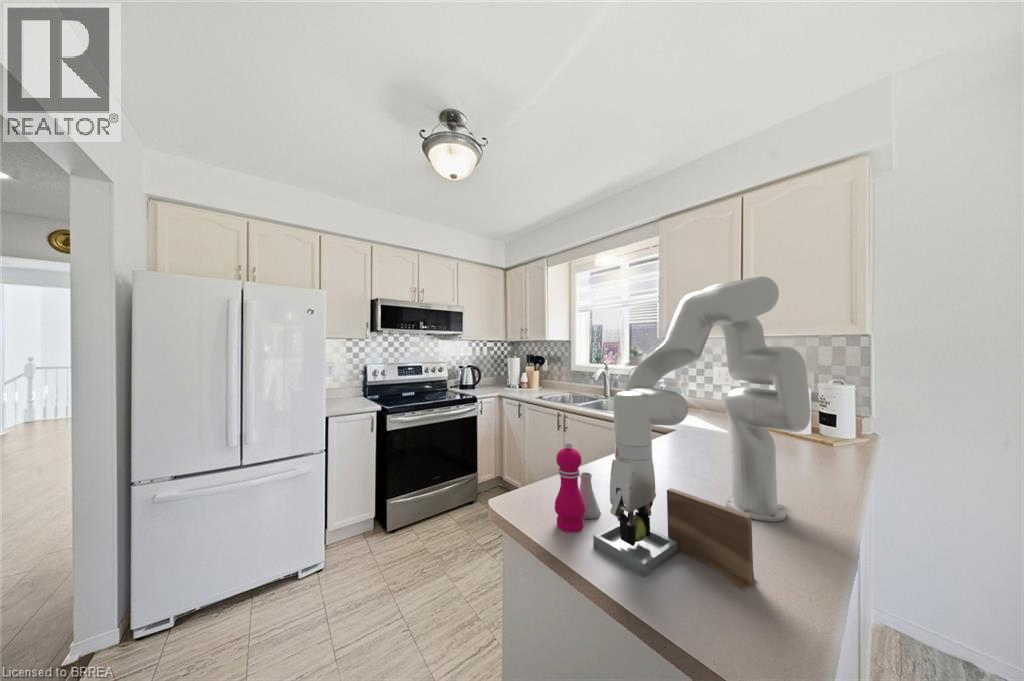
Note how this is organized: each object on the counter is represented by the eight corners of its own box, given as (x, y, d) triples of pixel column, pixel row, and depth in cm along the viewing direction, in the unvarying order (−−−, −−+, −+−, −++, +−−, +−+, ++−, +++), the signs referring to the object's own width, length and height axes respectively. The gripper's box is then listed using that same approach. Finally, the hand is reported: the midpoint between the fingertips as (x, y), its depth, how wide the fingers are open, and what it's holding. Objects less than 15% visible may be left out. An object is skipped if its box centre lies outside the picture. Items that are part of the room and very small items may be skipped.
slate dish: (627, 528, 78) (627, 518, 78) (678, 553, 68) (677, 541, 68) (593, 546, 71) (593, 535, 71) (643, 577, 61) (643, 564, 61)
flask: (601, 521, 82) (601, 480, 82) (572, 518, 83) (571, 478, 83) (600, 507, 89) (599, 469, 89) (572, 505, 90) (571, 468, 90)
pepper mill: (578, 537, 75) (577, 448, 75) (549, 528, 79) (548, 443, 79) (589, 523, 81) (588, 440, 81) (562, 515, 85) (560, 436, 85)
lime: (638, 549, 67) (637, 523, 67) (619, 537, 71) (618, 514, 71) (652, 541, 69) (651, 517, 69) (632, 531, 73) (631, 508, 73)
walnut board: (676, 541, 73) (675, 486, 73) (757, 579, 60) (755, 512, 61) (663, 549, 70) (662, 491, 70) (746, 591, 58) (743, 521, 58)
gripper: (640, 439, 78) (643, 518, 78) (592, 454, 69) (594, 543, 68) (671, 447, 72) (674, 532, 72) (623, 463, 62) (625, 562, 62)
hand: (635, 536), depth 70 cm, fingers closed on lime, 4 cm apart
